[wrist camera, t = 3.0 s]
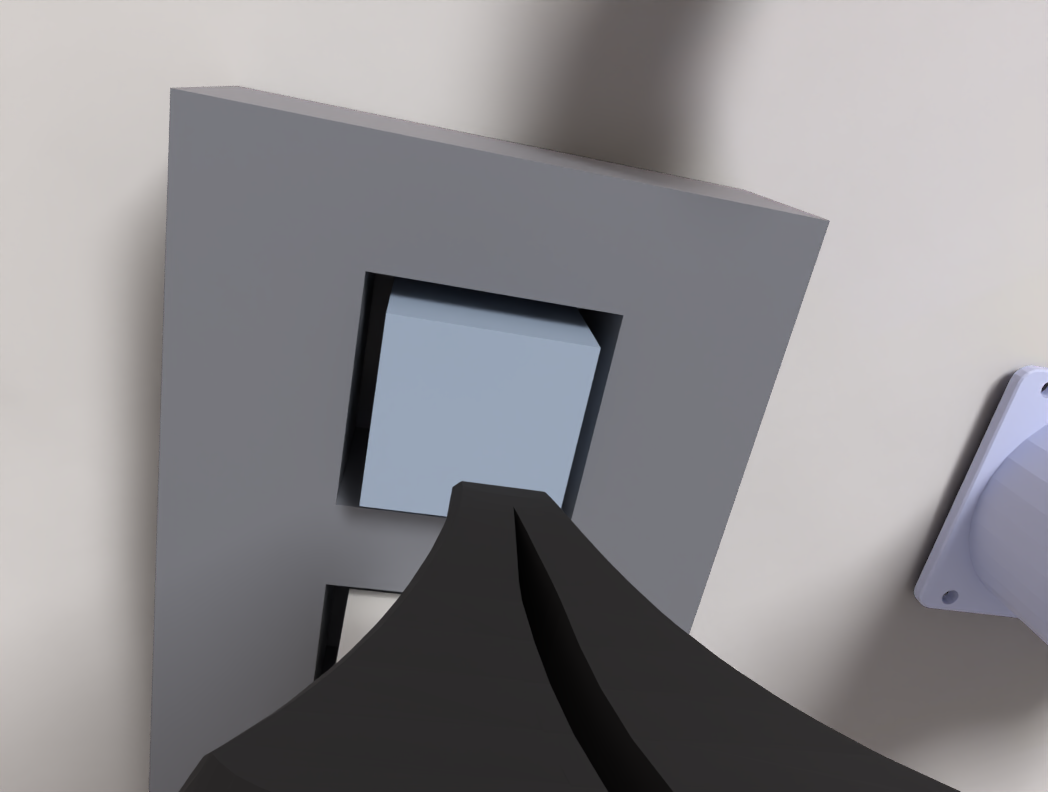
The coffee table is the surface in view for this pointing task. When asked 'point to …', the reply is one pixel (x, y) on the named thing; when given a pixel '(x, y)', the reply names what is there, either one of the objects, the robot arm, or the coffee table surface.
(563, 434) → the blue key
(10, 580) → the coffee table surface
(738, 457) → the key housing
